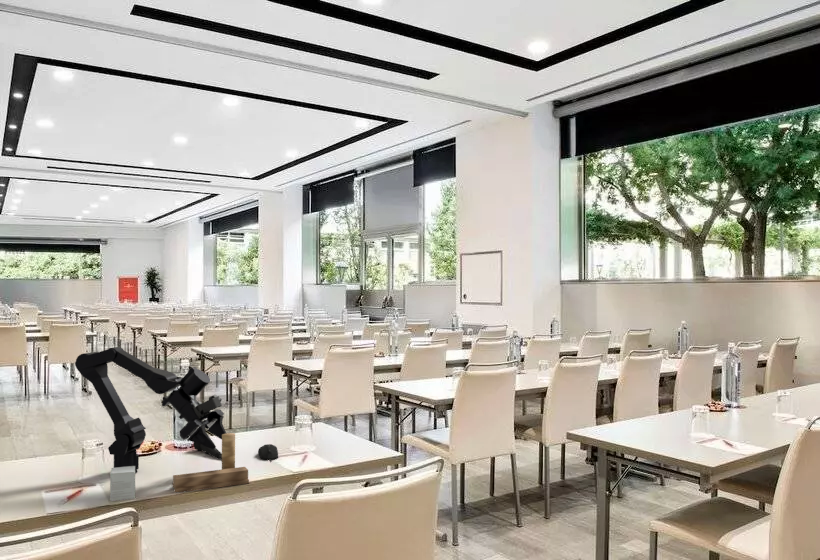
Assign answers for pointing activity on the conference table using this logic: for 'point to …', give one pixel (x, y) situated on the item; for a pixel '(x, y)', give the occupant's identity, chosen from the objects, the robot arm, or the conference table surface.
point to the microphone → (208, 450)
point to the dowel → (228, 450)
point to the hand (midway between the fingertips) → (221, 444)
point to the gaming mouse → (268, 452)
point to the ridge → (210, 479)
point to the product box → (122, 483)
